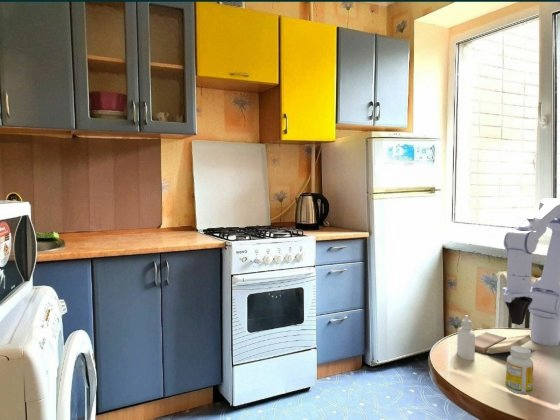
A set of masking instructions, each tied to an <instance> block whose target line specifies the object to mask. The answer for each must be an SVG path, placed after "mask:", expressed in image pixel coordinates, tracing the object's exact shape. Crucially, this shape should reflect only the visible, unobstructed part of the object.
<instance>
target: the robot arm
mask: <svg viewBox="0 0 560 420" xmlns="http://www.w3.org/2000/svg"><path fill="white" fill-rule="evenodd" d="M547 228H548V229H550V230H551V236H550V240H549V244H548V247H547V248H548V249H547V253H546V255H545V260H544V263H543V269H542V274H541V276H540V279H539V280H537V281H535V282H533V283H532V265H533V263H532V262H533V253H534V252H535V251H536V249H537V246H538V244H539V239H540V238H541V237H542V236H543V235H545V233H546V231H547ZM503 247H504V250H505V257H507V264H506V267H507V270H506V271H507V272H506V273H507V274H506V286H504V287H502V288H501V290H502V291H503V292H504V293H502V296H501V297H502V302H504V303H505V305H506V307H507V309H508V313H509V317H510V322H511V324H513V325H517V326H520V325H523V324H524V321H525V318H526V314H527V312H529V313H530V314H531V320H530V337H531V339H532V340H531V341H532V342H534V343H536V344H539V345H544V346H549V347H551V346H552V347H554V346H559V345H560V198H549V197H544V198H543V199H541V201H540V202H539V206H538V212H537V213H536V214H535V216H528V217H526V219H525V220H524V221H523V222H522V223H520V225H519V226H518V227H517V228H516V229H515V230H514V229H511V230H509V231H507V232H506V233H505V235H504V239H503Z"/></svg>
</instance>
